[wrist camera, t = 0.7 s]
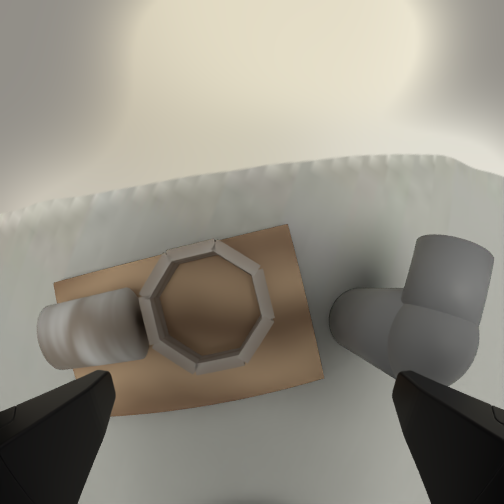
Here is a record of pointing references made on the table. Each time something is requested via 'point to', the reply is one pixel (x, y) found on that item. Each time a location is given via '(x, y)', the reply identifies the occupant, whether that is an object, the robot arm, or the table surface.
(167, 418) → the table surface
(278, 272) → the board
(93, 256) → the table surface
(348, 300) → the elbow
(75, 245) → the table surface
